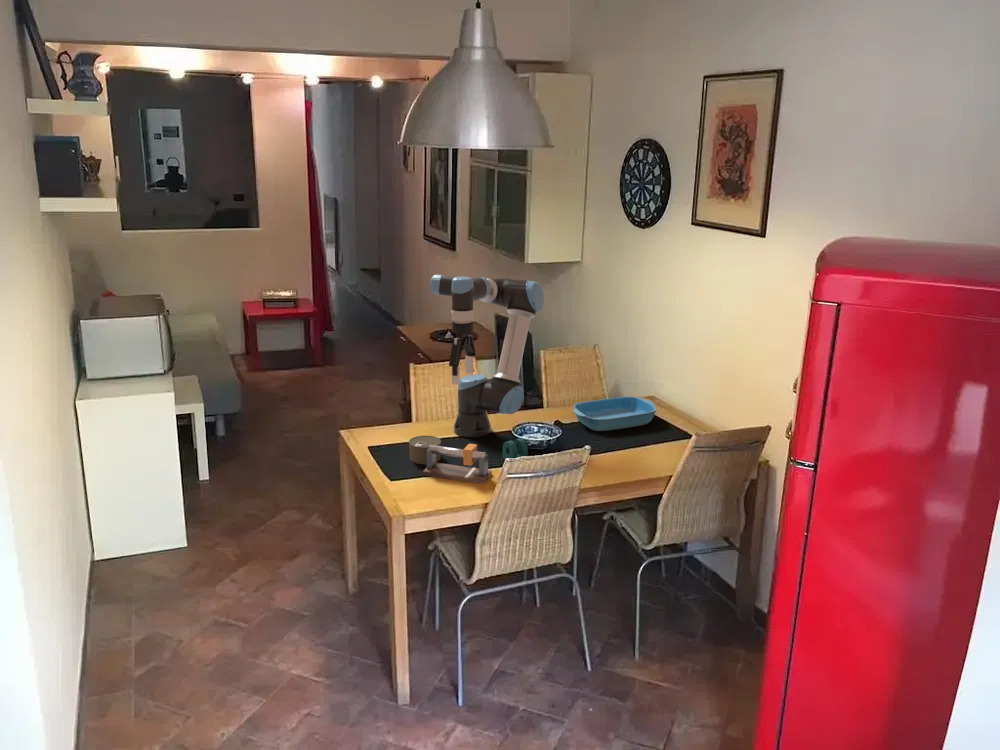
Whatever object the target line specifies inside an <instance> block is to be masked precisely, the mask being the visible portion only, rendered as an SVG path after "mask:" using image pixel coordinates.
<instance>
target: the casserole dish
mask: <svg viewBox="0 0 1000 750" xmlns="http://www.w3.org/2000/svg"><path fill="white" fill-rule="evenodd" d="M656 411H657V407H656V403H654V402H653V401H651V400H649V399H646V398H641V397H637V396H629V395H628V396H619V397H612V398H603V399H602V398H601V399H596V400H586V401H581V402H578V403H575V404H574V405H573V413H574V414H575V416H576V419H577V420H578V421H579V422H580V423H581V424H583V425H584V426H585V427H587V428H588V429H590V430H591V431H594V432H605V431H607V432H608V431H613V430H621V429H629V428H633V427H640V426H645V425H647V424H649V423H650V422H651V421H652V420H653V418H654V416H655V414H656Z"/></svg>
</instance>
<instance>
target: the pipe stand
mask: <svg viewBox="0 0 1000 750" xmlns="http://www.w3.org/2000/svg"><path fill="white" fill-rule="evenodd" d="M463 449H464V448H455V447H449V446H442V445H441V446H435V445H430V446H429V448H428V450H427V451H426V455H427V464H426V468H424V470H422V476H425V477H432V478H433V477H434V478H439V479H445V480H453V481H459V482H467V483H471V484H472V483H473V484H479V485H484V484H485V483H486V482H487V480H488V479H489V478H490V477H491V476H492V475H491V474H493V471H492V470H490V469H489V454H487V452H485V451H478V450H477V451H473V452H472V459H474V460H476V461H478V468H477V467H471V466H465V465H464V466H463V465H457V464H456V465H455V464H450V463H442V462H436V454H439V455H441V456H447V457H455V458H461V459H463Z"/></svg>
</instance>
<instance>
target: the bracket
mask: <svg viewBox="0 0 1000 750" xmlns="http://www.w3.org/2000/svg"><path fill="white" fill-rule="evenodd" d="M528 449H529V447H528V444H527V442H526V439H524V438H522V437H521V438H516V439H514V440H508V441H505V442H503V444H502V459H503V460H505V458H515V457H521V456H529V455H528V453H529V452H528Z"/></svg>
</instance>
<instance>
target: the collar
mask: <svg viewBox="0 0 1000 750" xmlns="http://www.w3.org/2000/svg"><path fill="white" fill-rule="evenodd" d="M462 449H463V458H462V461H463V465H464V466H468V467H471V466H473V465H474V464H475V463H476V461H477V460H474V459H472V452H473V451H478V444H475V443H468V444H467V445H466V446H465V447H464V448H462ZM463 465H462V466H463Z"/></svg>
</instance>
